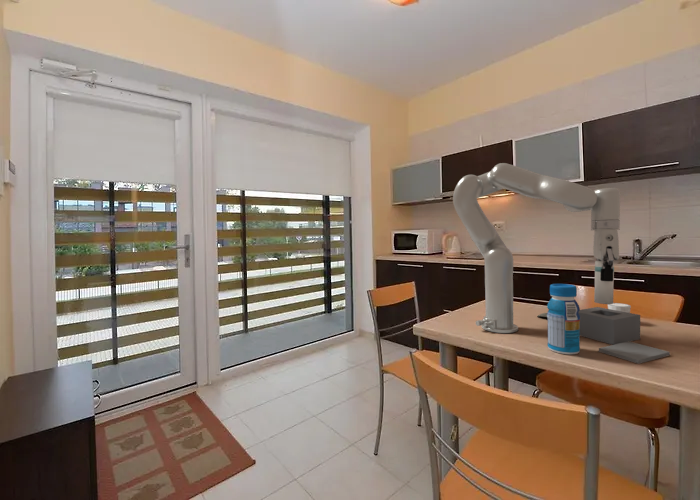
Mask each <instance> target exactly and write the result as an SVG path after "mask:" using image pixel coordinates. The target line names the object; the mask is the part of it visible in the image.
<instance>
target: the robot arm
mask: <svg viewBox="0 0 700 500" xmlns="http://www.w3.org/2000/svg"><path fill="white" fill-rule="evenodd" d="M503 189H504V190H505V189H506V190H508V191H511V192H514V193H517V194H518V195H522V196H525V197H527V198H533V199H536V200H537V199H539V200H540V199H543V200H548V201H551V202H555V203H558V204H561V205H562V206H563V207H564V209H565V210H566V211H568V212H571V213H579V212H581V213H582V212H585V211H590V231H594V232H593V247H592V248H593V254H592V255H593V257H594V258H595V259H596V260H595V261H601V262H602V269H601V278H600V280H601V281H613V262H615V261H618V260H619V259H620V245H619V244H620V243H619V242H620V241H619V233H618V231H619V230H620V228H621V227H620V225H621V223H620V222H621V221H620V220H621V190H620V189H619V188H617V187H603V188H597V189H594V190H593V189H592V188H590V187H587V186H585V185H581V184H579V183H575V182H573V181H570V180H566V179H563V178H558V177H554V176H553V177H552V176H550V175H545V174H541V173H537V172H535V171H531V170H529V169H526V168H522V167H520V166H516V165H513V164H509V163H506V162H502V163H501V162H500V163H497V164H496V165H494V167H493V168H491V170H490V171H488V172H484V173H483V174H480V175H475V174H467V175H464V176H462V178H460V179H459V181H458V182H457V184H456V185H455V188H454V190H453V195H452V202H453V208H454V210H455V212H456V214H457V216H458V218H459V219H460V221H461V223H462V225H463V226H464V228H465V230H466V231H467V233H468V235H469V238H470V239H471V241H472V242H473V243H474V245H475V246H476V248H477V249H478V250H479V253H480V254H481V255H482V257H483V259H484V288H485V289H484V291H485V297H484V298H485V302H484V303H485V315H484V316H483V318H482V319H478V320H476V321H475V325H476V326H477V327H479V326H481V328H482V329H483V330H485V331H488V332H491V333H496V334H497V333H498V334H512V333H516V332H518V331H519V326H518V325H516V324H515V323H514V280H513V279H514V276H513V275H514V255H513V253H512V251H511V250H510V248H508V246H507V245H506V243H505V242H504V241H503V239H502V238H501V236H500V235H499V233H498V231H497V229H496V227H495V226H494V225H493V223H491V221H490V220H489V218H488V217H487V215H486V214H485V212H484V210H483V209H482V207H481V205H480V203H479V201H478V199H479V198H483V197H485V196H487V195H490V194H493V193H495V192H498V191H501V190H503Z"/></svg>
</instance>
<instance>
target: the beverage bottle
mask: <svg viewBox="0 0 700 500" xmlns="http://www.w3.org/2000/svg"><path fill="white" fill-rule="evenodd" d="M577 291H578V290H577V286H576V285H575V284H569V283H552V284H550V285H549V294H550V297H551V298H550V299H549V301H548V303H547V304H546V307H547V309H548V311H547V312H546V313H547V317H546V318H547V348H548V350H550V351H552V352H554V353H556V354H557V353H558V354H561V355H577V354H578V353H580V349H581V348H580V347H581V346H580V343H581V342H580V337H581V336H580V315H579V313H578V312H579V310H581V308H580V306H579V303H578V302H577V300H576V298H577V294H578V292H577Z"/></svg>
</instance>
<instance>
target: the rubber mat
mask: <svg viewBox="0 0 700 500" xmlns="http://www.w3.org/2000/svg"><path fill="white" fill-rule="evenodd" d="M598 352H599V353H602V354H605V355H609V356H612V357H616V358H618V359H622V360H625V361H629V362H632V363H635V364H643V363H646V362H650V361H654V360H657V359H661V358H665V357H669V356H670V354H671V352H670V351H668V350H664V349H659V348H657V347H651V346H648V345H645V344H642V343H637V342H633V341H628V342H623V343H619V344H615V345H612V344H609V345H607V346H602V347H598Z"/></svg>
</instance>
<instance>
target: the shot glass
mask: <svg viewBox="0 0 700 500" xmlns="http://www.w3.org/2000/svg"><path fill="white" fill-rule="evenodd" d="M631 308H632V306H631V305H630V304H627V303H619V302H613V304H607V309H611V310H617V311H622V312H627V313H631Z"/></svg>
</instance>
